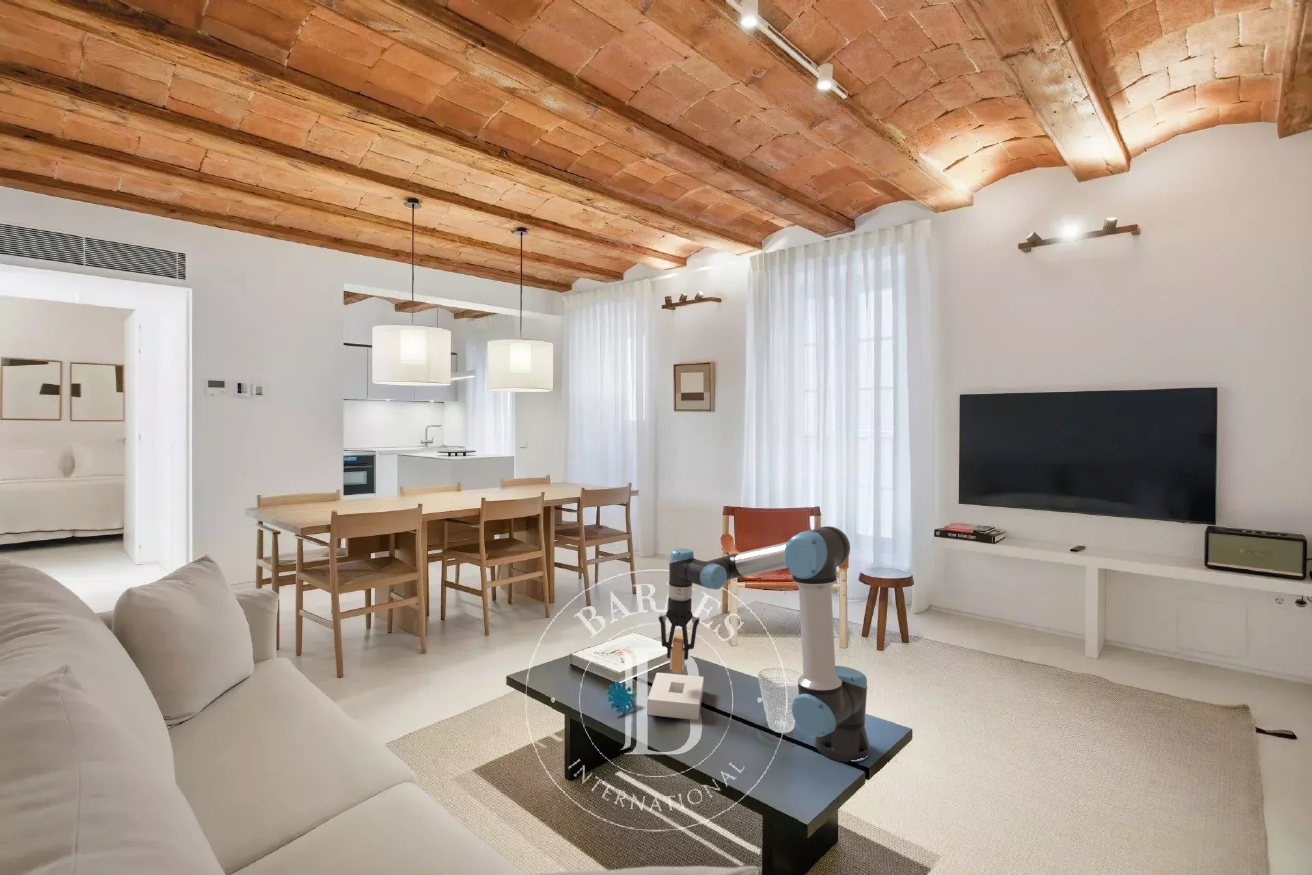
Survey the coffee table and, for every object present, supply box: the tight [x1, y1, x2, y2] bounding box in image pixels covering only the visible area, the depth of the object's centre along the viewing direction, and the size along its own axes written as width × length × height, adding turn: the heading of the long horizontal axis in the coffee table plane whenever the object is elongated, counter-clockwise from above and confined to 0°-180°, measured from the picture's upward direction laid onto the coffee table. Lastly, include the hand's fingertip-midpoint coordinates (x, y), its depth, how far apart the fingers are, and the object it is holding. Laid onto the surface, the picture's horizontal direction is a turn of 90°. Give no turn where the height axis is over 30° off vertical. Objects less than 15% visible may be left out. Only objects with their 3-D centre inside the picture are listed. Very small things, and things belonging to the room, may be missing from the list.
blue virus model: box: [606, 681, 638, 714], centre depth 212 cm, size 11×6×10 cm
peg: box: [671, 634, 684, 674], centre depth 215 cm, size 3×6×10 cm, turn 172°
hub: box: [646, 672, 705, 721], centre depth 216 cm, size 20×16×5 cm
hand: (677, 667), depth 215 cm, fingers closed on peg, 3 cm apart
